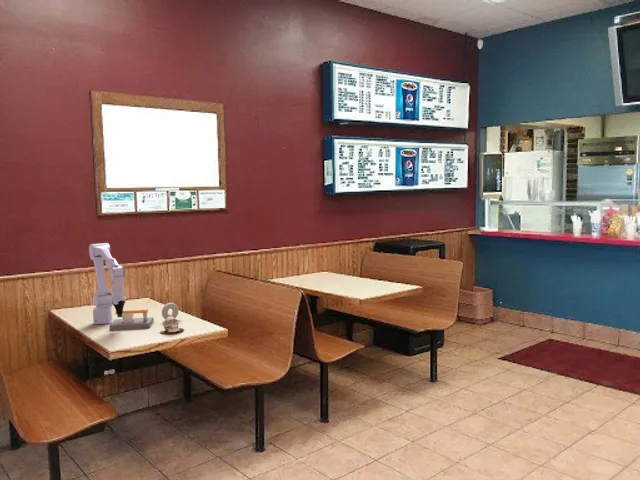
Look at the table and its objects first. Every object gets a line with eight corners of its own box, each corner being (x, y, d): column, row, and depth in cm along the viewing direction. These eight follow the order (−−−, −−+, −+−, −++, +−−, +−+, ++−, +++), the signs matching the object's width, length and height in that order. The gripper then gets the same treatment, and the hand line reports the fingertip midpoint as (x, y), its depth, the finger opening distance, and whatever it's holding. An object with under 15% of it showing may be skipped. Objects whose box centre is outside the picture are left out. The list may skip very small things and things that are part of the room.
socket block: (109, 330, 287) (108, 317, 287) (116, 323, 301) (115, 311, 301) (149, 328, 290) (148, 315, 289) (153, 321, 304) (153, 309, 303)
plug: (117, 327, 292) (116, 315, 291) (119, 325, 297) (118, 313, 296) (132, 327, 293) (131, 315, 292) (134, 324, 298) (133, 313, 297)
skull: (189, 329, 281) (176, 317, 276) (175, 345, 277) (162, 333, 272) (180, 324, 290) (166, 312, 285) (166, 339, 287) (153, 328, 281)
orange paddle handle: (115, 314, 292) (115, 311, 292) (116, 313, 295) (116, 310, 295) (147, 312, 294) (147, 310, 294) (148, 311, 297) (148, 308, 297)
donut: (164, 322, 301) (163, 304, 300) (160, 321, 303) (159, 303, 302) (180, 319, 308) (179, 301, 307) (176, 318, 310) (176, 300, 309)
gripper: (122, 291, 281) (124, 317, 282) (129, 286, 295) (130, 311, 297) (108, 292, 280) (110, 318, 281) (115, 287, 294) (117, 312, 296)
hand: (119, 315), depth 289 cm, fingers closed
